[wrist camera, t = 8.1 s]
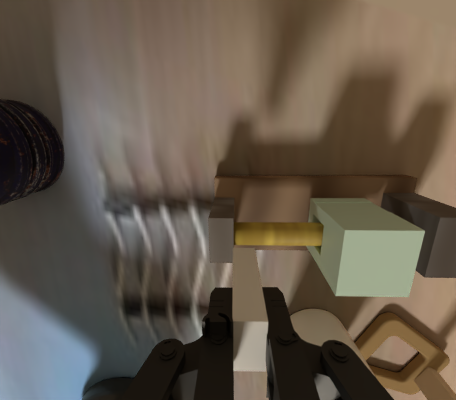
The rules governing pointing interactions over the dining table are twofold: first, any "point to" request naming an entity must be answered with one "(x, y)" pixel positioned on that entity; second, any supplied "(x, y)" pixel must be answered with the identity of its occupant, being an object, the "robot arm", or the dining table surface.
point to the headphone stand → (417, 369)
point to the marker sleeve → (365, 248)
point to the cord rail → (299, 195)
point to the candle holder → (322, 329)
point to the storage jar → (27, 151)
